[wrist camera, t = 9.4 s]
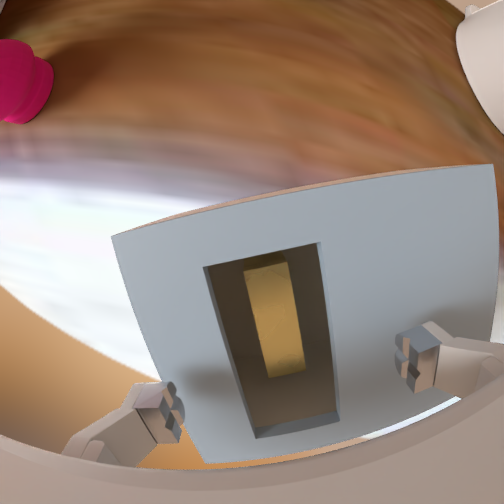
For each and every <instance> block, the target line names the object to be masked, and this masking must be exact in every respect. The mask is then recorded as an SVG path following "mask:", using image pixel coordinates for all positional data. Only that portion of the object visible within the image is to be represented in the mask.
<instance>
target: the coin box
mask: <svg viewBox="0 0 504 504" xmlns="http://www.w3.org/2000/svg"><path fill="white" fill-rule="evenodd" d="M111 239H112V242H113V246H114V250H115V254H116V257H117V261H118V264H119V267H120V271H121V274H122V277H123V281H124V284H125V287H126V290H127V293H128V296H129V299H130V302H131V305H132V308H133V310H134V313H135V316H136V319H137V322H138V324H139V327H140V330H141V332H142V335H143V337H144V340H145V342H146V345H147V347H148V350H149V352H150V355H151V357H152V359H153V362H154V364H155V366H156V369H157V371H158V373H159V376H160V378H161V380H162V382H168V381H171V382H173V383H174V385H175V387H176V389H177V392H176V396H177V397H179V398H180V399H181V400H182V402H183V405H184V408H185V420H184V423H183V425H184V426H185V428H186V430H187V432H188V434H189V436H190V437H191V439H192V441H193V443H194V444H195V446H196V448H197V450H198V452H199V453H200V455H201V457H202V458H203V460H204V462H205V463H206V464H207V463H224V462H237V461H246V460H255V459H262V458H269V457H276V456H282V455H287V454H292V453H298V452H303V451H307V450H312V449H316V448H320V447H324V446H328V445H332V444H336V443H340V442H343V441H347V440H350V439H353V438H357V437H360V436H363V435H366V434H369V433H372V432H375V431H378V430H381V429H383V428H386V427H389V426H391V425H394V424H396V423H399V422H401V421H404V420H406V419H409V418H411V417H413V416H416V415H418V414H420V413H422V412H425V411H427V410H429V409H431V408H433V407H435V406H437V405H439V404H441V403H443V402H445V401H447V400H449V399H451V398H453V397H455V396H454V395H452V394H450V393H447V392H445V391H442V390H440V389H438V388H435V387H434V386H432V387H430V388H427V389H425V390H423V391H420V392H418V393H415V394H414V393H413V392H412V391H411V389H410V388H409V387H408V385H407V384H406V380H407V378H403V377H401V376H400V375H399V373H398V371H397V369H396V366H395V353H396V351H397V349H398V347H397V346H396V345H395V337H396V334H398V333H401V332H404V331H406V330H409V329H412V328H414V327H417V326H419V325H421V324H423V323H426V322H428V321H433V322H434V323H435V324H437V325H438V326H439V327H441V328H442V329H443V330H444V331H446V332H447V333H448V334H449V335H451V336H452V337H453V338H456V337H461V338H467V339H474V340H480V341H486V342H490V337H491V331H492V325H493V319H494V312H495V304H496V295H497V284H498V268H499V218H498V202H497V191H496V182H495V175H494V168H493V164H479V165H461V166H446V167H433V168H421V169H411V170H401V171H392V172H385V173H378V174H372V175H365V176H359V177H353V178H346V179H340V180H335V181H329V182H323V183H318V184H312V185H307V186H301V187H296V188H291V189H286V190H281V191H276V192H271V193H266V194H261V195H257V196H252V197H247V198H243V199H238V200H234V201H229V202H225V203H221V204H216V205H212V206H208V207H204V208H199V209H195V210H191V211H187V212H183V213H179V214H176V215H173V216H169V217H166V218H163V219H160V220H157V221H154V222H151V223H148V224H145V225H142V226H139V227H136V228H133V229H130V230H127V231H125V232H122V233H119V234H116V235H113V236H111ZM280 250H281V251H282V253H283V255H284V257H285V259H286V260H287V263H288V268H289V273H290V279H291V284H292V289H293V295H294V301H295V306H296V312H297V318H298V323H299V329H300V335H301V341H302V347H303V353H304V360H305V366H306V370H305V371H301V372H297V373H292V374H287V375H283V376H278V377H273V378H269V377H268V373H267V369H266V365H265V361H264V357H263V353H262V348H261V344H260V340H259V336H258V332H257V328H256V323H255V319H254V315H253V311H252V307H251V302H250V298H249V294H248V289H247V285H246V281H245V277H244V272H243V268H244V258H247V257H252V256H256V255H261V254H266V253H270V252H275V251H280Z"/></svg>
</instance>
